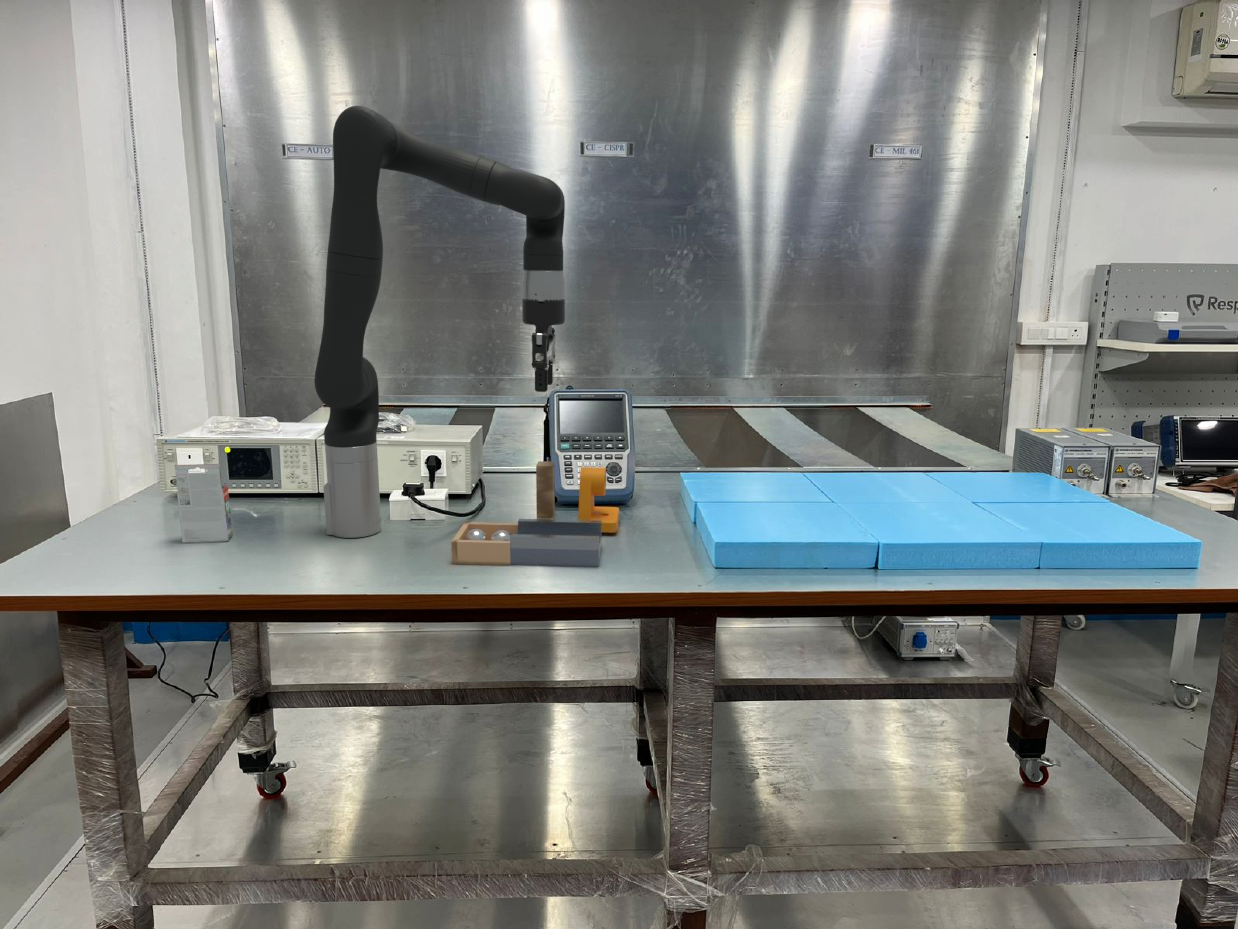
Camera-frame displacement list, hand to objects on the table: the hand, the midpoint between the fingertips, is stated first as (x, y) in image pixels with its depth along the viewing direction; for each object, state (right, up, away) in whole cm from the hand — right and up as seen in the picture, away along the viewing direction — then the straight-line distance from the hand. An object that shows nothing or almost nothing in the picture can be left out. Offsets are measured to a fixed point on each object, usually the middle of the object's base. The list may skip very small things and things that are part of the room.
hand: (544, 387), depth 153 cm
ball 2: (-9, -28, -5) cm, 30 cm away
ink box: (-62, -28, +1) cm, 68 cm away
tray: (-10, -30, -4) cm, 31 cm away
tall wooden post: (0, -27, +7) cm, 28 cm away
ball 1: (-13, -28, -4) cm, 32 cm away
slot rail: (+3, -30, -4) cm, 30 cm away
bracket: (+10, -26, +12) cm, 31 cm away
